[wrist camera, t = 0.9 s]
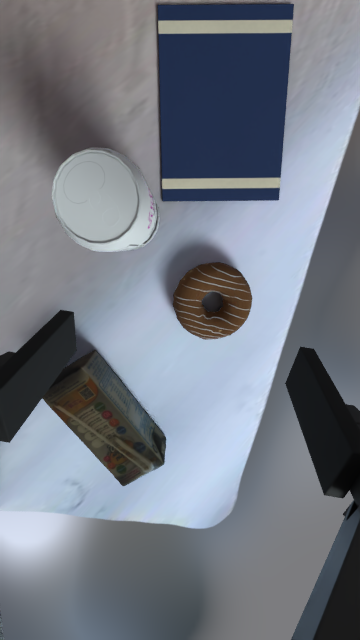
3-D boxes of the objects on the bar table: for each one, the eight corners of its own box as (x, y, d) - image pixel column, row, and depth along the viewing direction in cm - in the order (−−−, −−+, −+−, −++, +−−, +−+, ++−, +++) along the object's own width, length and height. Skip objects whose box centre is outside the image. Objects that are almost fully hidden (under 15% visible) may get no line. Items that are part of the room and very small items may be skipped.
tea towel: (158, 7, 31) (157, 4, 30) (292, 6, 31) (294, 3, 30) (162, 201, 36) (162, 200, 35) (277, 200, 36) (278, 199, 35)
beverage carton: (128, 460, 46) (120, 494, 40) (54, 372, 42) (31, 395, 36) (168, 437, 45) (166, 468, 39) (95, 345, 41) (79, 363, 34)
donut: (214, 244, 37) (218, 244, 33) (263, 300, 39) (272, 306, 35) (157, 297, 39) (155, 303, 35) (207, 348, 41) (210, 359, 37)
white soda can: (84, 211, 36) (22, 188, 22) (133, 169, 35) (101, 115, 20) (124, 262, 38) (91, 272, 23) (172, 224, 36) (168, 209, 22)
